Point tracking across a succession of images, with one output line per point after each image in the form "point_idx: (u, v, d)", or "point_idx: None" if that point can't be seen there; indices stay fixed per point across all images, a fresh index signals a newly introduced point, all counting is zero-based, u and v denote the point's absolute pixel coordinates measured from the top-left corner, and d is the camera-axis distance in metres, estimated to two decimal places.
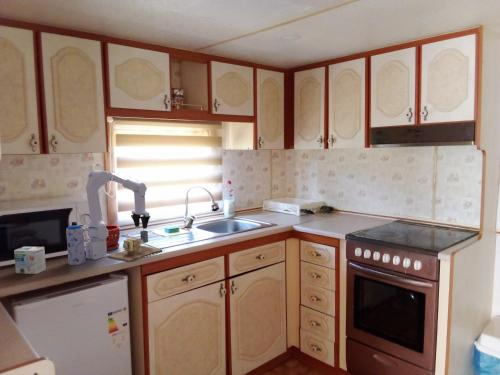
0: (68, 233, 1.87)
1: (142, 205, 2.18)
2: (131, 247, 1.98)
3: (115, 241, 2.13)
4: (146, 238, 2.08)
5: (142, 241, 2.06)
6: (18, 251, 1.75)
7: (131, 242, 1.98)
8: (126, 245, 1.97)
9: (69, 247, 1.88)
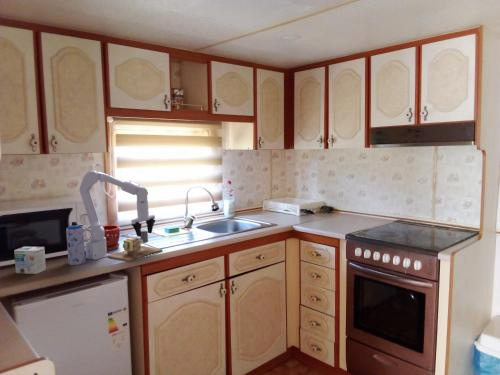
0: (68, 233, 1.87)
1: (138, 211, 2.04)
2: (131, 247, 1.98)
3: (115, 241, 2.13)
4: (146, 238, 2.07)
5: (142, 241, 2.06)
6: (18, 251, 1.75)
7: (131, 242, 1.98)
8: (126, 245, 1.97)
9: (69, 247, 1.88)
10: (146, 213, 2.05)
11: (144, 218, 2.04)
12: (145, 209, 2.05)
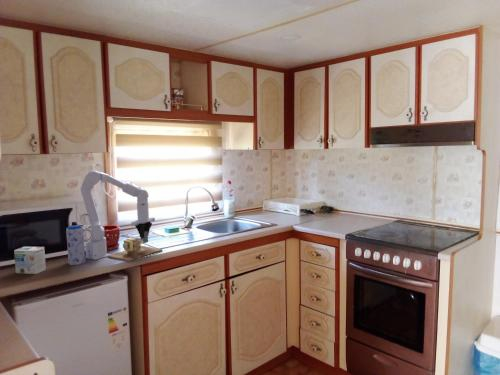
0: (68, 233, 1.87)
1: (138, 213, 2.04)
2: (131, 247, 1.98)
3: (115, 241, 2.13)
4: (146, 238, 2.08)
5: (142, 241, 2.06)
6: (18, 251, 1.75)
7: (131, 242, 1.98)
8: (126, 245, 1.97)
9: (69, 247, 1.88)
10: (146, 215, 2.05)
11: (144, 220, 2.04)
12: (145, 211, 2.05)
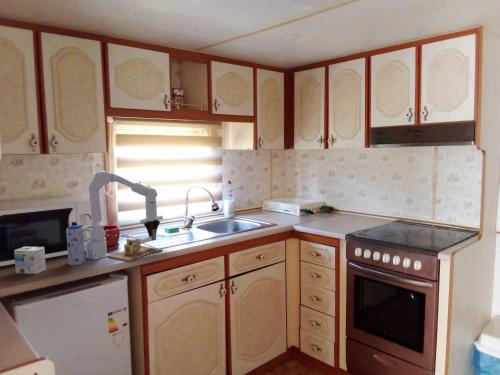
0: (68, 233, 1.87)
1: (147, 211, 2.09)
2: (132, 251, 1.98)
3: (115, 241, 2.13)
4: (154, 236, 2.12)
5: (150, 239, 2.11)
6: (18, 251, 1.75)
7: (132, 246, 1.98)
8: None
9: (69, 247, 1.88)
10: (154, 214, 2.10)
11: (152, 218, 2.09)
12: (154, 210, 2.10)
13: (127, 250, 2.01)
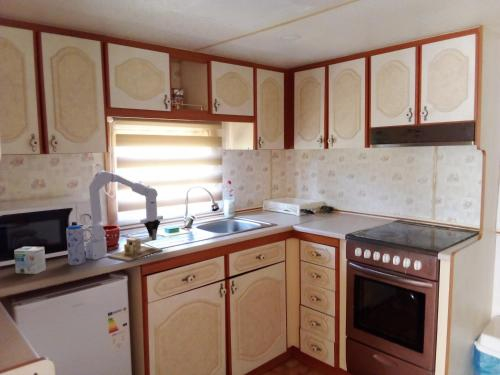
0: (68, 233, 1.87)
1: (147, 211, 2.09)
2: (132, 251, 1.98)
3: (115, 241, 2.13)
4: (154, 236, 2.13)
5: (151, 239, 2.11)
6: (18, 251, 1.75)
7: (132, 246, 1.98)
8: None
9: (69, 247, 1.88)
10: (155, 213, 2.10)
11: (153, 218, 2.09)
12: (154, 209, 2.10)
13: (127, 250, 2.01)
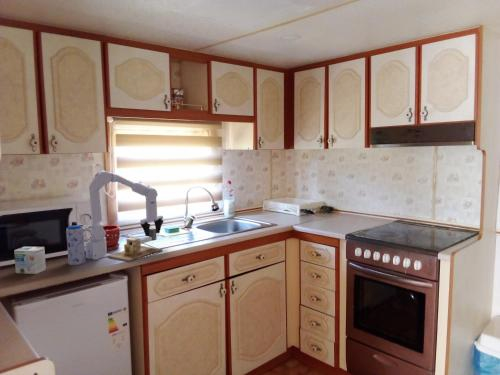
0: (68, 233, 1.87)
1: (147, 211, 2.09)
2: (132, 251, 1.98)
3: (115, 241, 2.13)
4: (154, 236, 2.13)
5: (151, 239, 2.11)
6: (18, 251, 1.75)
7: (132, 246, 1.98)
8: None
9: (69, 247, 1.88)
10: (155, 214, 2.10)
11: (153, 218, 2.09)
12: (154, 209, 2.10)
13: (127, 250, 2.01)
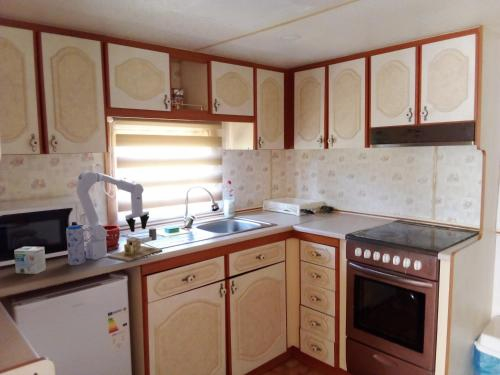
0: (68, 233, 1.87)
1: (132, 207, 2.09)
2: (132, 251, 1.98)
3: (115, 241, 2.13)
4: (154, 236, 2.13)
5: (151, 239, 2.11)
6: (18, 251, 1.75)
7: (132, 246, 1.98)
8: None
9: (69, 247, 1.88)
10: (140, 209, 2.10)
11: (138, 214, 2.09)
12: (140, 205, 2.10)
13: (127, 250, 2.01)
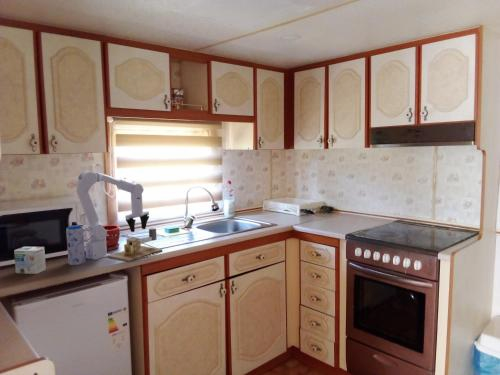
0: (68, 233, 1.87)
1: (132, 207, 2.09)
2: (132, 251, 1.98)
3: (115, 241, 2.13)
4: (154, 236, 2.13)
5: (151, 239, 2.11)
6: (18, 251, 1.75)
7: (132, 246, 1.98)
8: None
9: (69, 247, 1.88)
10: (140, 209, 2.10)
11: (138, 214, 2.09)
12: (140, 205, 2.10)
13: (127, 250, 2.01)
